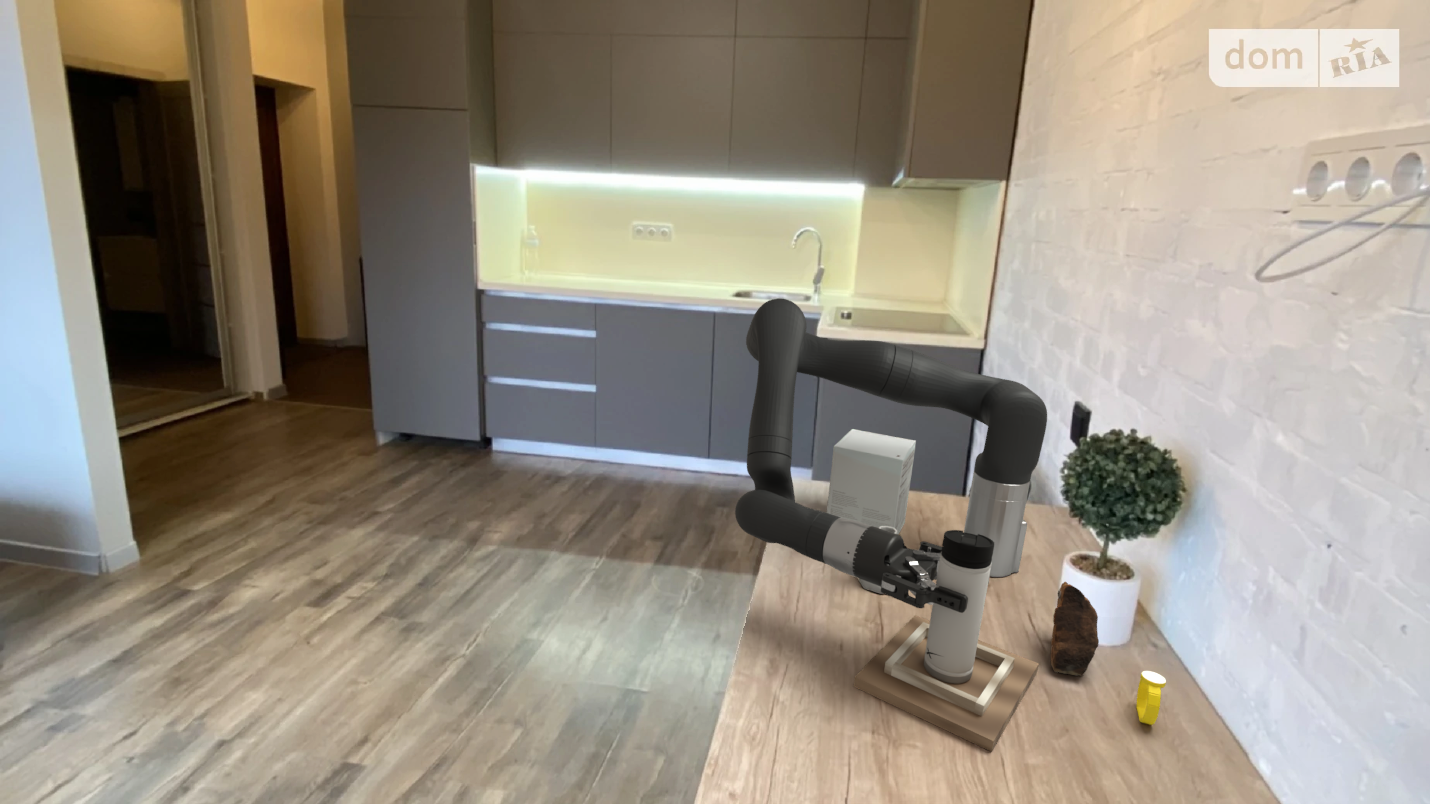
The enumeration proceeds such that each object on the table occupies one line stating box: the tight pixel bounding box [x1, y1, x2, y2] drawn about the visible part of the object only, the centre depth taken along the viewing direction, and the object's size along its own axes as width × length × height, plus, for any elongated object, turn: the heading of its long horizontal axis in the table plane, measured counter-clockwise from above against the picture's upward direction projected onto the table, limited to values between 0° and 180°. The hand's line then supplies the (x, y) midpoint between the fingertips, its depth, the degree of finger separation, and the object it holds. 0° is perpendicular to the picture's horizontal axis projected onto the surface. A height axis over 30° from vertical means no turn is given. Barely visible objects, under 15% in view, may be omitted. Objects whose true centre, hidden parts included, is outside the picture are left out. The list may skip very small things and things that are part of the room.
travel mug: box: [924, 529, 994, 684], centre depth 97 cm, size 6×7×20 cm
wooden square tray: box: [853, 614, 1040, 753], centre depth 100 cm, size 20×18×3 cm
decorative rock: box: [1050, 581, 1099, 677], centre depth 106 cm, size 12×6×11 cm, turn 154°
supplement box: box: [826, 428, 917, 535], centre depth 144 cm, size 13×13×18 cm
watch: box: [1135, 670, 1167, 726], centre depth 95 cm, size 6×3×6 cm, turn 158°
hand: (977, 591), depth 95 cm, fingers open, 8 cm apart
